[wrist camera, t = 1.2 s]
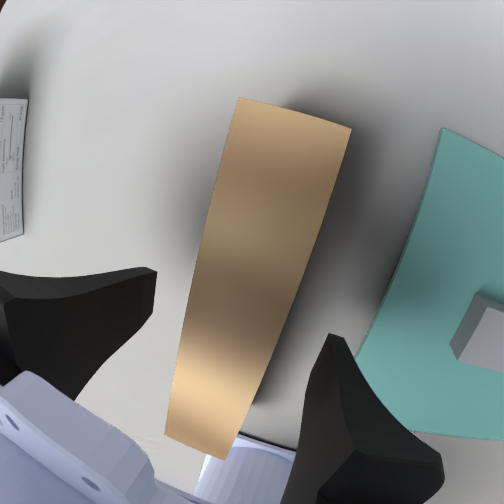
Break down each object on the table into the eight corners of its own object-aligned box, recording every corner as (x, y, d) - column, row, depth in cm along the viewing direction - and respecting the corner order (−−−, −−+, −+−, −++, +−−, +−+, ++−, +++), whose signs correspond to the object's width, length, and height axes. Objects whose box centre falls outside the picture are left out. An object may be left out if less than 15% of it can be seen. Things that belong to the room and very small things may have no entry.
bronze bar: (249, 402, 18) (224, 461, 14) (198, 381, 19) (164, 434, 14) (345, 139, 13) (351, 128, 8) (270, 117, 13) (238, 97, 9)
